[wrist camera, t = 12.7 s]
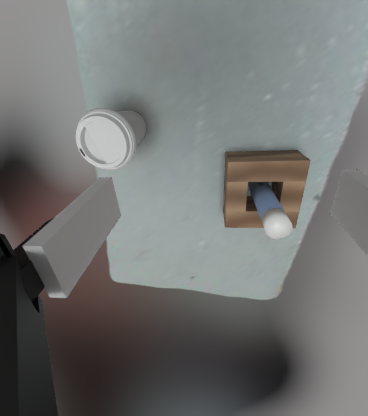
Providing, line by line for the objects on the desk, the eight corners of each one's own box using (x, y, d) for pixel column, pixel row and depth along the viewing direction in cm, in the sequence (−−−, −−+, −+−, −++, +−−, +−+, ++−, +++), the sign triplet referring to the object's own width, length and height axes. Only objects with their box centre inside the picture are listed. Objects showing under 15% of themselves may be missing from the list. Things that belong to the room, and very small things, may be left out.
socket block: (225, 151, 48) (227, 161, 42) (297, 150, 46) (310, 160, 40) (223, 211, 55) (225, 227, 49) (285, 211, 53) (295, 228, 47)
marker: (248, 175, 50) (266, 217, 34) (267, 175, 49) (294, 217, 34) (247, 191, 52) (263, 238, 36) (265, 191, 51) (289, 239, 36)
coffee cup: (104, 102, 46) (62, 110, 32) (151, 101, 45) (127, 109, 32) (112, 149, 50) (78, 173, 37) (155, 150, 49) (135, 174, 36)
